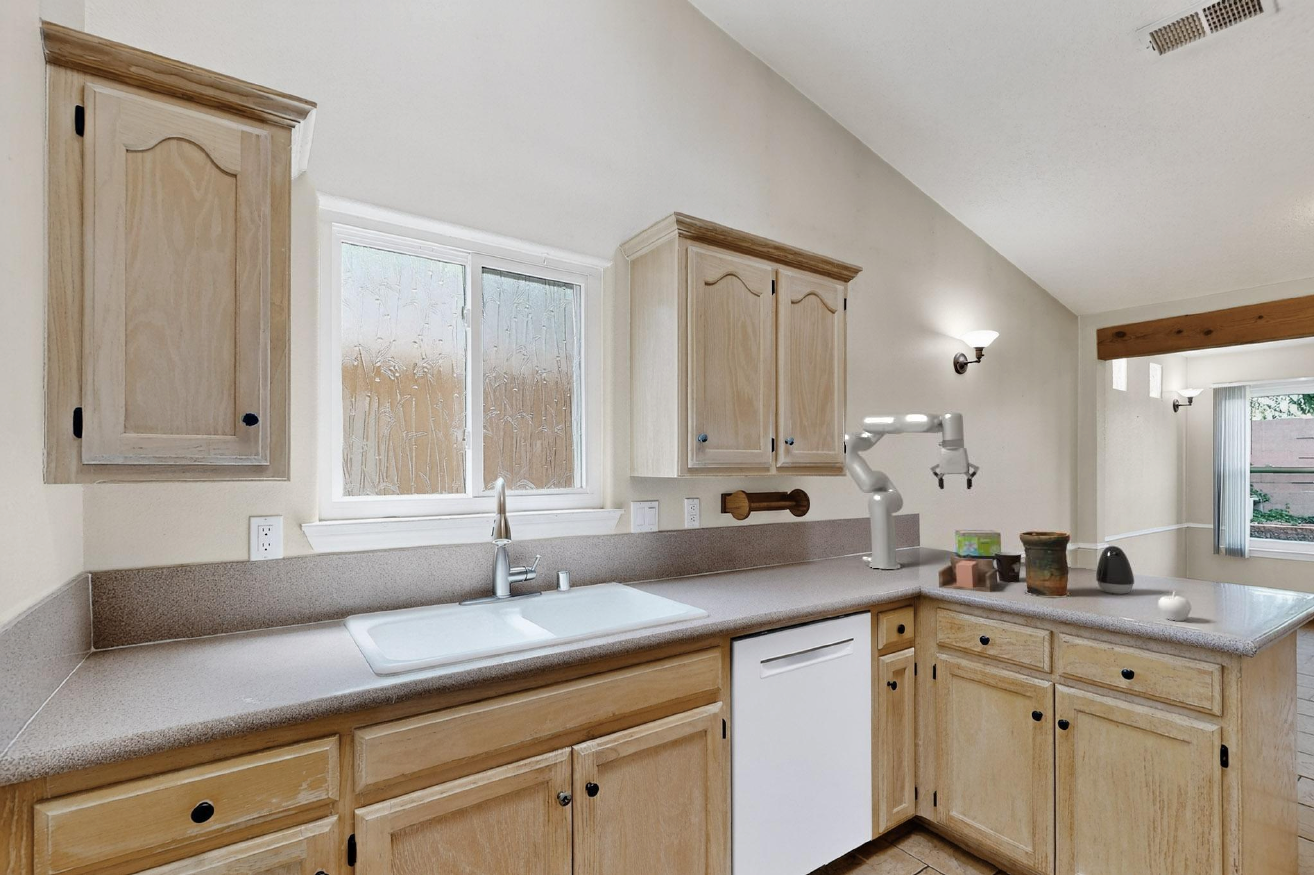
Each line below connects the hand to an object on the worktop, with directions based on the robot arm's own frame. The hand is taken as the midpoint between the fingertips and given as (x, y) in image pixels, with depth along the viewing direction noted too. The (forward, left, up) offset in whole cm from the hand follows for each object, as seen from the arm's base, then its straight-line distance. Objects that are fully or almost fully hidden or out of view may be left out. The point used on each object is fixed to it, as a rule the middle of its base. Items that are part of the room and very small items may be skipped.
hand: (955, 489), depth 245 cm
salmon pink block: (+7, -20, -33) cm, 39 cm away
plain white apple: (+63, -41, -34) cm, 82 cm away
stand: (+7, -19, -33) cm, 39 cm away
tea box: (+2, +26, -34) cm, 43 cm away
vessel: (+31, -20, -34) cm, 50 cm away
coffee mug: (+16, -3, -34) cm, 37 cm away
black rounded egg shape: (+49, -8, -34) cm, 60 cm away
